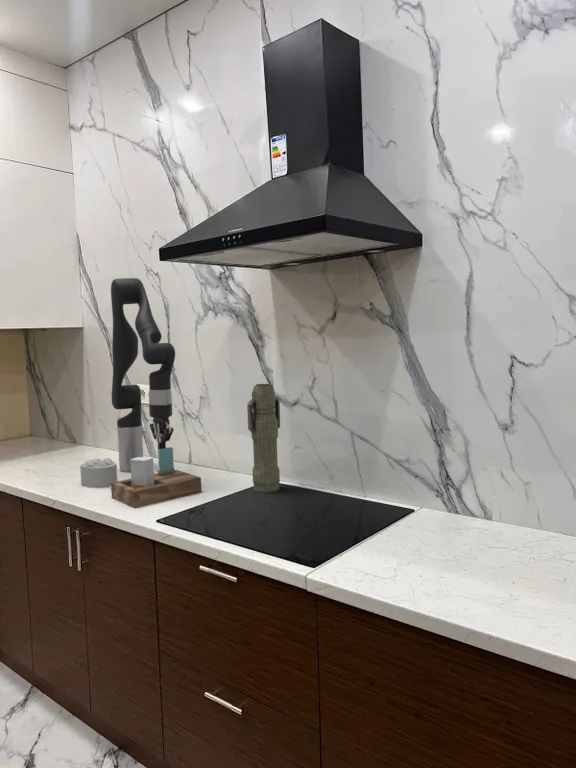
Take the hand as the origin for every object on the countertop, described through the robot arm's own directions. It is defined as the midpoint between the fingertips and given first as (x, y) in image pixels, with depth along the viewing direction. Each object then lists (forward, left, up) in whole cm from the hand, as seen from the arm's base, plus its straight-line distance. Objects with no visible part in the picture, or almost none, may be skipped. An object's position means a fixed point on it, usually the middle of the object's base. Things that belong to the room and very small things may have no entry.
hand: (162, 452), depth 197 cm
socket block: (+6, -6, -12) cm, 15 cm away
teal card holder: (+3, 0, -3) cm, 4 cm away
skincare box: (+6, -11, -11) cm, 17 cm away
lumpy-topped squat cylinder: (-22, -13, -13) cm, 28 cm away
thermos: (+27, +23, -12) cm, 38 cm away
